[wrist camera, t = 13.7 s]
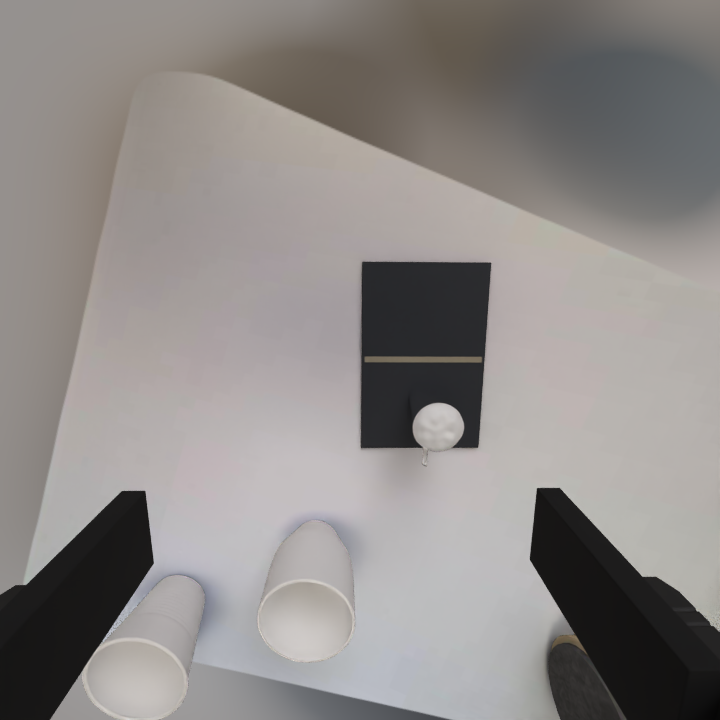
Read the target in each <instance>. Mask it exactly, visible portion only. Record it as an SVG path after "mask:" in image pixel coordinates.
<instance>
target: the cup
mask: <svg viewBox="0 0 720 720" xmlns="http://www.w3.org/2000/svg"><path fill="white" fill-rule="evenodd" d="M204 605H205V593H204V591H203V589H202V587H201V586H200V585H199V584H198V583H197V582H196V581H195V580H193V579H191V578H189V577H187V576H182V575H173V576H169V577H166V578H164V579H162V580H161V581H160V582H159V583H157V585H156V586H155V587H154V588H153V589H152V590H151V591H150V592H149V593H148V595H147V596H146V597H145V598H144V599H143V600H142V601H141V602H140V604H139V605H137V607H136V608H135V609H134V610H133V611H132V612H131V614H129V615H128V617H127V618H126V619H125V620H124V621H123V622H122V623H121V624H120V625H119V626H118V627H117V628H116V630H115V631H114V632H113V633H112V634H111V635H110V636H109V637H108V638H107V639H106V641H105V642H104V643H103V644H102V645H100V646H98V648H97V649H96V651H95V652H94V654H93V655H92V657H91V658H90V660H89V661H88V663H87V664H86V666H85V667H84V669H83V674H82V680H83V686H84V689H85V692H86V694H87V695H88V697H89V699H90V700H91V701H92V703H93V704H94V705H95V706H96V707H97V708H98V709H100V710H101V711H103V712H104V713H105V714H107V715H109V716H111V717H113V718H116V719H119V720H160V719H163V718H165V717H166V716H169V715H170V714H172V713H173V712H174V711H175V710H176V709H178V708H179V706H180V705H181V703H182V702H183V701H184V699H185V697H186V694H187V691H188V676H189V672H190V667H191V663H192V659H193V654H194V649H195V645H196V640H197V636H198V631H199V627H200V622H201V618H202V614H203V610H204Z"/></svg>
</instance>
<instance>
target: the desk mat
mask: <svg viewBox="0 0 720 720" xmlns="http://www.w3.org/2000/svg"><path fill="white" fill-rule="evenodd" d="M490 271H491V263H451V262H362V393H361V448H423V447H422V446H421V445H420V444H418V442H417V441H416V439H415V437H414V434H413V427H412V416H411V411H410V404H409V397H410V395H411V394H412V392H413V390H414V389H417V388H419V387H421V386H426V387H431V388H433V389H434V390H435V391H436V392H437V393H438V394H439V395H440V396H441V397H442V398H443V399H444V400H445V401H447V402H448V403H449V404H450V405H451V406H453V407H454V408H455V409H456V410H457V411H458V412H459V413H460V415H461V417H462V420H463V422H464V431H463V435H462V437H461V438H460V440H459V441H458V442H457V443H456V445H454V446H453V447H452V448H478V444H479V430H480V415H481V401H482V386H483V372H484V358H485V343H486V329H487V314H488V300H489V286H490Z"/></svg>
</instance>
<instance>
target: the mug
mask: <svg viewBox="0 0 720 720" xmlns="http://www.w3.org/2000/svg"><path fill="white" fill-rule="evenodd" d="M257 624H258V629H259V632H260V634H261V636H262V638H263V640H264V641H265V643H266V644H267V645H268V646H269V647H270V648H271V649H272V650H273V651H274V652H276V653H277V654H279V655H281V656H282V657H285V658H287V659H290V660H293V661H297V662H306V663H310V662H319V661H323V660H326V659H329V658H331V657H333V656H335V655H337V654H338V653H339V652H341V651H342V650H343V649H344V648H345V647H346V646H347V645H348V643H349V642H350V640H351V638H352V636H353V633H354V629H355V604H354V580H353V569H352V564H351V559H350V556H349V554H348V551H347V549H346V548H345V546H344V544H343V543H342V541H341V540H340V538H339V537H338V535H337V533H336V532H335V530H334V529H333V528H332V527H331V526H330V525H329V524H327V523H325V522H322V521H317V520H313V521H308V522H306V523H304V524H302V525H301V526H300V527H299V528H298V529H297V530H295V531H294V532H293V533H292V534H291V535H290V536H289V537H288V538H286V539H285V540H284V541H283V543H282V544H281V545H280V546H279V548H278V550H277V551H276V553H275V555H274V557H273V560H272V563H271V566H270V569H269V572H268V576H267V579H266V583H265V587H264V591H263V594H262V598H261V602H260V606H259V609H258V614H257Z"/></svg>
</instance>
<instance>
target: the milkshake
mask: <svg viewBox="0 0 720 720" xmlns="http://www.w3.org/2000/svg"><path fill="white" fill-rule="evenodd" d="M409 404H410V411H411V416H412V427H413V434H414V437H415V439H416V441H417V442H418V444H420V445H421V446H422V447H423V458H422V465H424V466H426V467H427V455H428V450H430V451H434V452H441V451H445V450H448V449H450V448H452V447H453V446H454V445H456V443H457V442H458V441H459V440H460V438H461V437H462V435H463V431H464V422H463V420H462V417H461V415H460V413H459V412H458V411H457V410H456V409H455V408H454V407H453V406H451V405H450V404H449V403H448V402H447V401H445V400H444V399H443V398H442V397H441V396H440V395H439V394H438V393H437V392H436V391H435V390H434V389H433V388H431V387H426V386H421V387H419V388H417V389H414V390H413V392H412V394H411V395H410V397H409Z"/></svg>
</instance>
